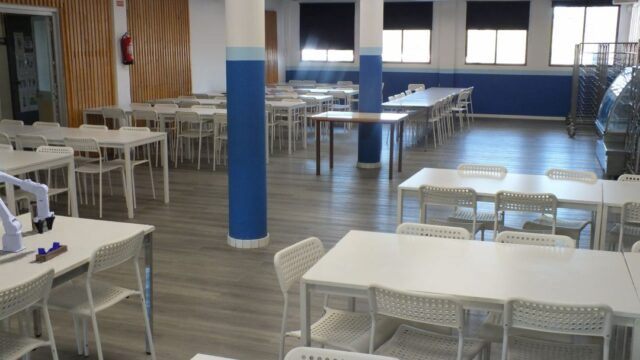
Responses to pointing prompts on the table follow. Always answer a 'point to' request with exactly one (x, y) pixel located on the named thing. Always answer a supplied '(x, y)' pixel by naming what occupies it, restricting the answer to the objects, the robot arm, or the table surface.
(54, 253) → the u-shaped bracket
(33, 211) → the coffee box
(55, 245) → the blue notched arch
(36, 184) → the robot arm
